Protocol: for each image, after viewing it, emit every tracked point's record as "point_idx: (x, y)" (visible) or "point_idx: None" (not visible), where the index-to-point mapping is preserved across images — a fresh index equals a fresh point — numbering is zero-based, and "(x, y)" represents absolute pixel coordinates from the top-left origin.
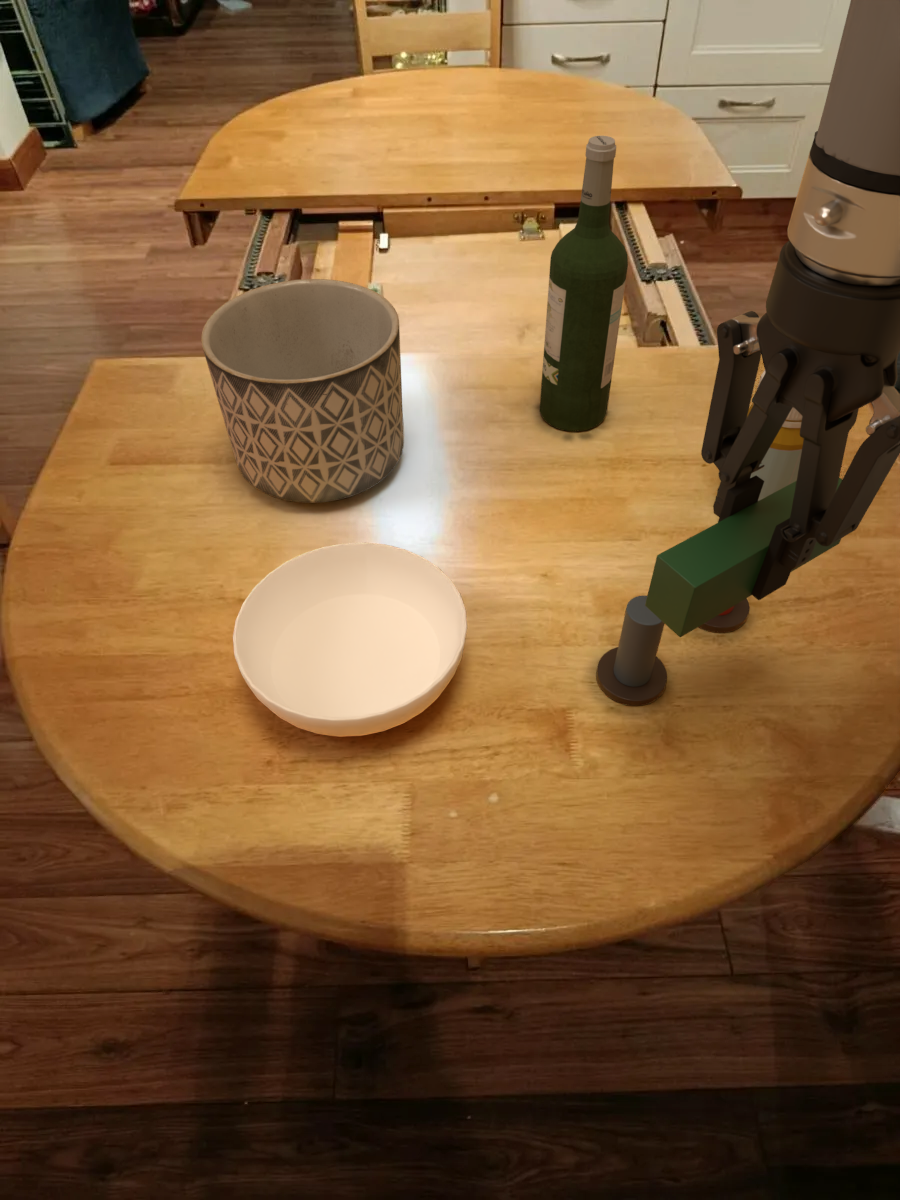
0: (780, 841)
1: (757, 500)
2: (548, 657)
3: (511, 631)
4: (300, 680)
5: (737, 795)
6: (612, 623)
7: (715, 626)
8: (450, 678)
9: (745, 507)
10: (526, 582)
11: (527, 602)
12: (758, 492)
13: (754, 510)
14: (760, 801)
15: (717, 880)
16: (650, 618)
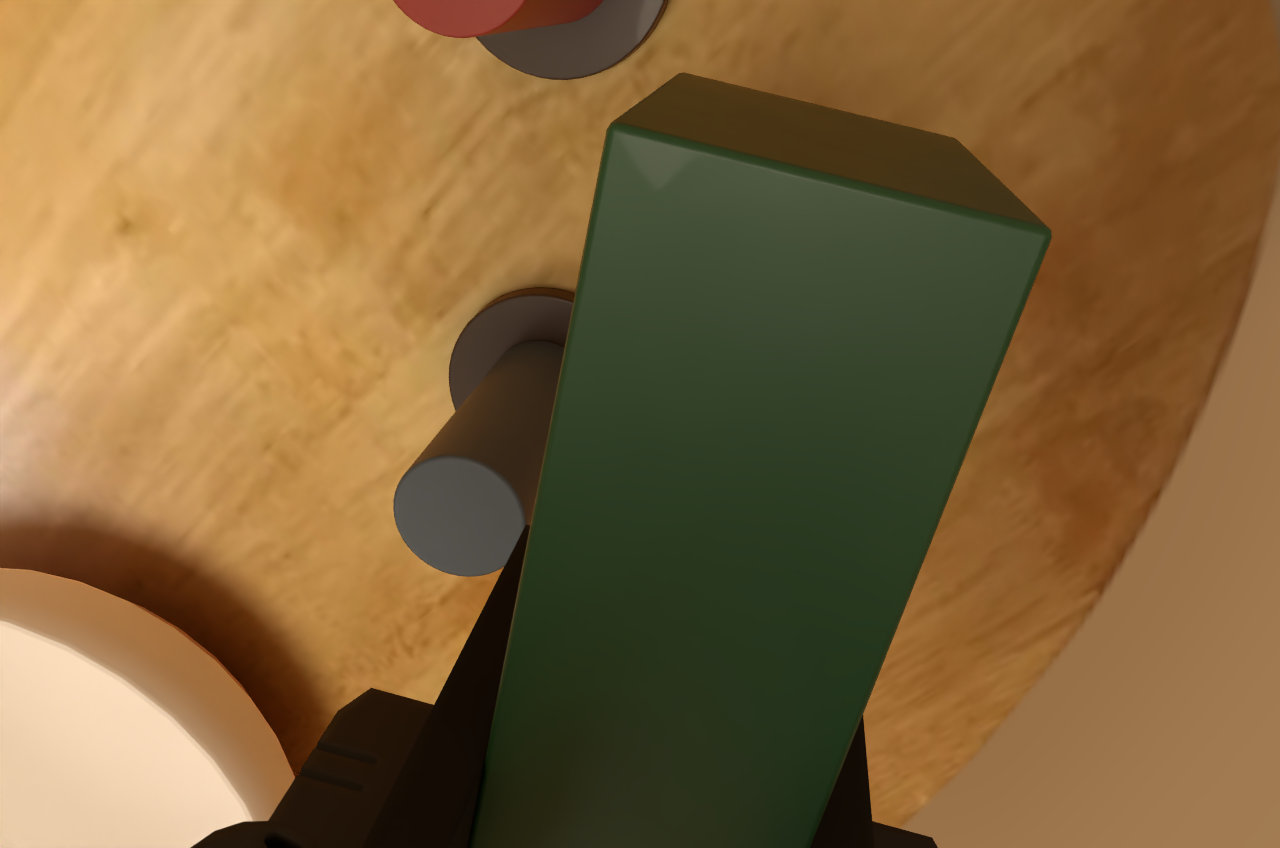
0: (1100, 551)
1: (480, 766)
2: (358, 457)
3: (235, 449)
4: (86, 815)
5: (957, 508)
6: (385, 249)
7: (616, 63)
8: (273, 783)
9: (467, 843)
10: (119, 285)
11: (180, 343)
12: (453, 843)
13: (520, 837)
14: (1014, 489)
15: (1013, 700)
16: (491, 542)
